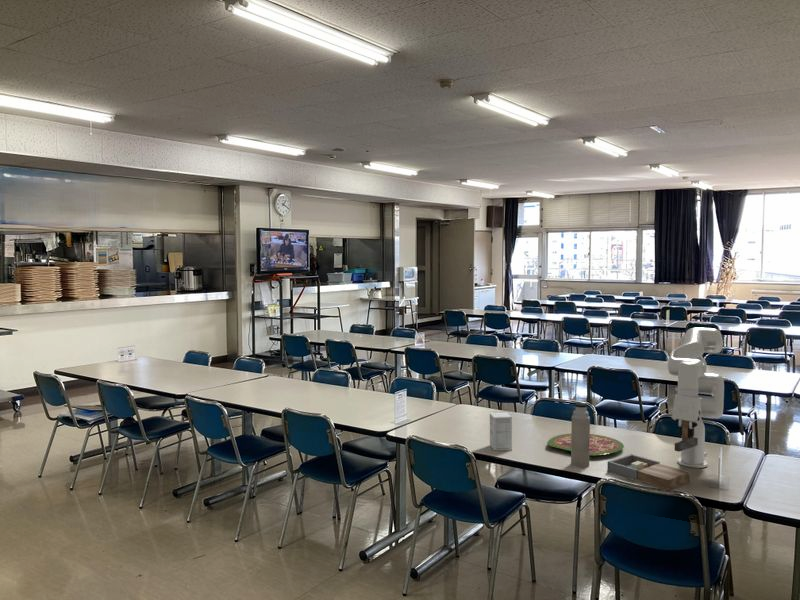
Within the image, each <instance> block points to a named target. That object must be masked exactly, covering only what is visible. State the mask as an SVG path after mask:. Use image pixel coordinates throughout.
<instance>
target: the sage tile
mask: <svg viewBox="0 0 800 600" xmlns="http://www.w3.org/2000/svg"><path fill="white" fill-rule="evenodd" d="M631 468H634V469H637V470H638V471H639V470H642V469H643V462H639V461H637V462H634V463H631Z"/></svg>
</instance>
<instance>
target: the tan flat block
mask: <svg viewBox="0 0 800 600" xmlns="http://www.w3.org/2000/svg"><path fill="white" fill-rule="evenodd" d="M636 481H639V482H643V483H645V484H648V485H649V484H650V485H652V486H655V487H658V488H661V489H665V490H668V491H669V490H673V489H674V488H676V487H679V486H681V485H684V484H686V483H689V482H690V471H687V470H684V469H680V468H676V467H672V466H669V465H665V464H662V463H660V464H659V463H658V464H656V465H653V466H650V467H647V468H644V469H642V470H639V471H638V475H637V480H636Z"/></svg>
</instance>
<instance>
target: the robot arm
mask: <svg viewBox="0 0 800 600" xmlns="http://www.w3.org/2000/svg"><path fill="white" fill-rule="evenodd" d="M723 346H724V340H723V336H722V333H721V331H720V330H719V329H717V328H712V327H692V328H689V329H687V330H686V332H685V334H683V335H682V336H681V338H680V346H678V347H676V348H675V349H673V350H672V351H671V352H670V354H669V357H668V361H667V372H668V373H669V374H670V375H671V376H673V377H675V376H676V377H677V386H676V387H675V388H674V391H675V392H677V393H676V394H675V396H674V400H673V405H672V415H671V419H672V420H674V421H675V422H676V424H678V427H679V437H681V438H682V420H684V421H689V428H688V438H692V437H695V438H698V445H697V446H694V447H691V448H689V449H686V450H683V451H680V457H679V458H677V459H676V460H677V461H676V462H677V463H678V464H679V465H681V466H684V467H687V468H693V469H704V468H706V467H708V465H709V463H708V462H707V460H705V458H706V457H708V453H707V452H705V441H706V440H705V439H706V438H705V437H706V428H705V427H706V426H705V424H704V422H703V419H702V418H707V419H720V418H722V417H723V415H724V414H723V413H724V406H725V405H724V400H725V380H724V378H723V376H722V375H721V374H718V373H708V372H707V368H708V367H707V364H708V363H707V361H706V359H705V358H704V357H703V355H704V353H707V354H718V353H719V354H720V353H721V352H722V349H723ZM699 394H701V395H699ZM702 394H704V395H702ZM707 395H708V396H707ZM709 395H710V396H709Z"/></svg>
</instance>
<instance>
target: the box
mask: <svg viewBox="0 0 800 600" xmlns="http://www.w3.org/2000/svg"><path fill="white" fill-rule="evenodd" d="M636 461H640V462H643V463H647V464H648V467H650V466H653V465H656V464H658V463H659V464H661V461H658V460H656V459H655V460H654V459H651V458H647V457H643V456H639V455H636V454H632V453H630V454H627V455H624V456H620V457H618V458H615V459H612V460H609V461H607V468H606V469H607V472H606V473H610V474H614V475H617V476H620V477H623V478H626V479H630V480H632V481H638V480H637V475H638V470H637V469H634V468H631V463H633V462H636Z"/></svg>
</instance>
